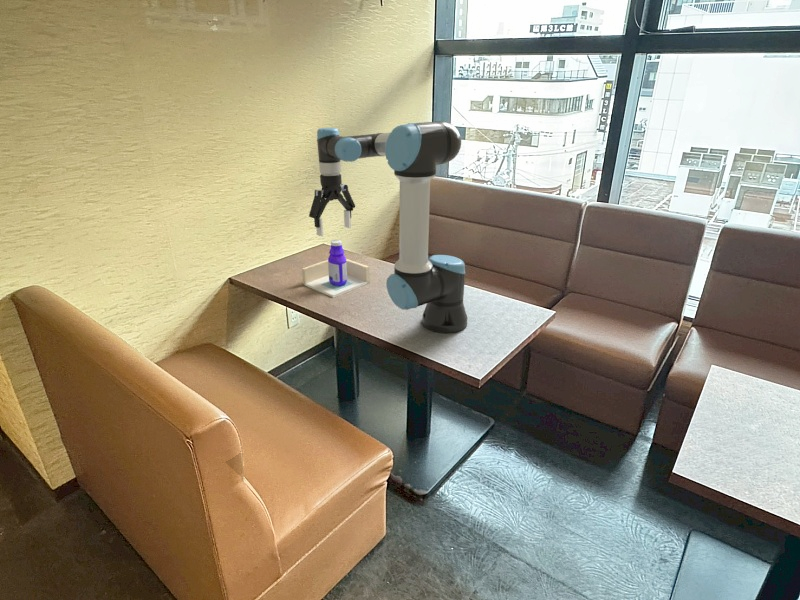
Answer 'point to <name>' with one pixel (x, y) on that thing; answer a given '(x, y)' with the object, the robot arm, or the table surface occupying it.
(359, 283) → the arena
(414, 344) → the table surface
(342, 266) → the bottle
